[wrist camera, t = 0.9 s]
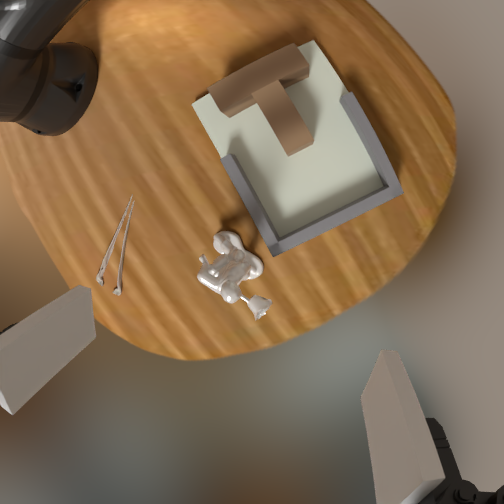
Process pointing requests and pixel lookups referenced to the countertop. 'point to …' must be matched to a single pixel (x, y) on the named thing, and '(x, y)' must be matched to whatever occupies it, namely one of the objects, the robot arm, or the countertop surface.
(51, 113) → the robot arm
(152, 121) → the countertop surface
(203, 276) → the figurine
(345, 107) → the board
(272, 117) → the t block
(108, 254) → the silver tweezers
